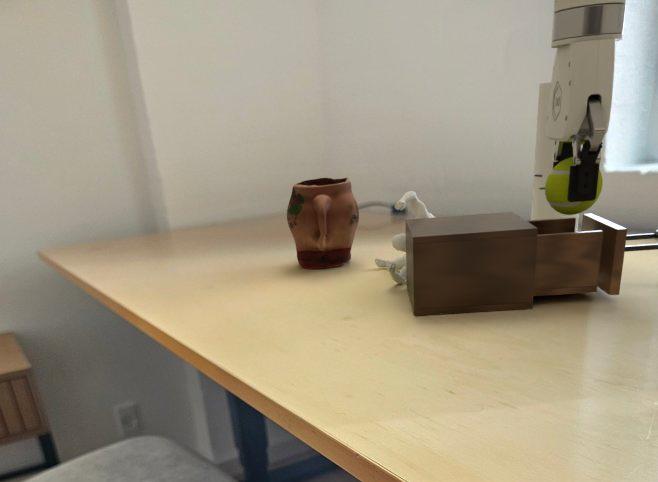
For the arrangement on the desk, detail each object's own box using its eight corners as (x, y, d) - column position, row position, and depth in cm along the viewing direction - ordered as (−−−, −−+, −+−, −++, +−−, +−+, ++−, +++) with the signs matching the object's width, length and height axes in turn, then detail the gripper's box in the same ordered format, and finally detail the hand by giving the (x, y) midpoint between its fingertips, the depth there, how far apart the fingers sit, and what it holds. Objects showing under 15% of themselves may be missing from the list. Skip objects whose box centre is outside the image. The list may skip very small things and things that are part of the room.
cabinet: (508, 281, 94) (512, 211, 90) (532, 308, 81) (538, 228, 77) (406, 288, 95) (405, 219, 91) (413, 316, 82) (412, 237, 78)
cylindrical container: (556, 251, 110) (570, 81, 99) (584, 257, 104) (602, 77, 93) (519, 256, 109) (529, 85, 97) (546, 263, 102) (559, 81, 91)
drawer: (649, 267, 92) (658, 208, 88) (693, 290, 80) (705, 223, 76) (488, 278, 93) (490, 220, 90) (507, 301, 82) (510, 237, 78)
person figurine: (380, 196, 107) (398, 185, 90) (456, 208, 108) (488, 198, 91) (368, 278, 111) (383, 282, 94) (441, 288, 112) (470, 294, 95)
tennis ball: (538, 219, 82) (543, 160, 78) (547, 211, 87) (551, 155, 84) (596, 218, 79) (603, 157, 76) (601, 210, 84) (607, 152, 81)
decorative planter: (369, 273, 106) (365, 181, 100) (295, 281, 106) (286, 188, 99) (353, 252, 124) (348, 172, 118) (289, 258, 123) (281, 178, 117)
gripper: (535, 40, 82) (526, 192, 90) (575, 22, 66) (560, 208, 74) (597, 34, 81) (582, 188, 89) (652, 15, 66) (628, 203, 74)
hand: (572, 196), depth 82 cm, fingers closed on tennis ball, 6 cm apart
